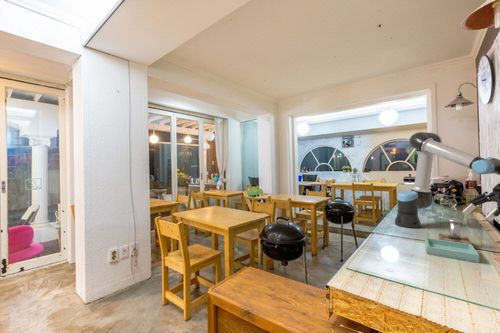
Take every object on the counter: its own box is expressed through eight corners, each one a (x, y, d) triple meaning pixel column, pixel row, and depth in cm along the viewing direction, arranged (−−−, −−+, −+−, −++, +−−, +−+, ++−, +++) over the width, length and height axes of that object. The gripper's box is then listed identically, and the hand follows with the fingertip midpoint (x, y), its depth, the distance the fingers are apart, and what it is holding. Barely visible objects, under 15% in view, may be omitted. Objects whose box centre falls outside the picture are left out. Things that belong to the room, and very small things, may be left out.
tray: (426, 254, 110) (427, 246, 110) (425, 244, 123) (425, 237, 123) (479, 263, 99) (479, 255, 99) (471, 251, 113) (471, 244, 112)
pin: (448, 244, 122) (448, 220, 122) (447, 241, 127) (447, 217, 126) (462, 246, 119) (462, 221, 119) (460, 243, 123) (460, 219, 123)
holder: (441, 244, 121) (441, 239, 121) (438, 238, 131) (438, 233, 131) (472, 249, 114) (472, 243, 114) (467, 242, 124) (467, 237, 124)
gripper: (540, 196, 107) (505, 228, 109) (489, 190, 132) (461, 215, 134) (528, 185, 108) (493, 216, 109) (479, 181, 132) (451, 206, 134)
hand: (475, 216), depth 121 cm, fingers open, 13 cm apart
